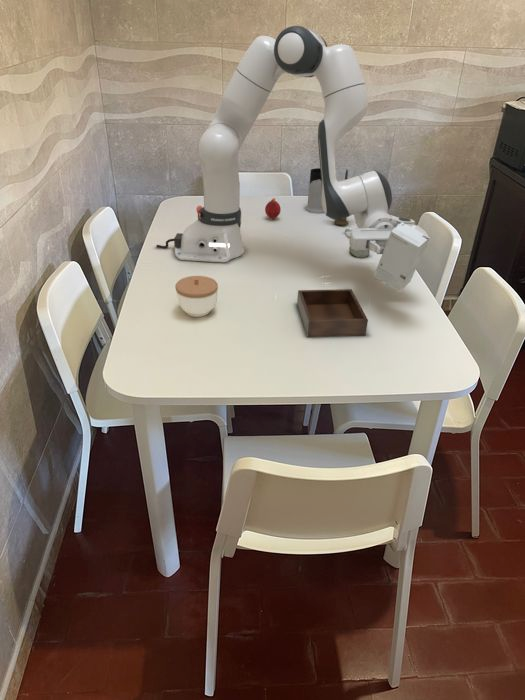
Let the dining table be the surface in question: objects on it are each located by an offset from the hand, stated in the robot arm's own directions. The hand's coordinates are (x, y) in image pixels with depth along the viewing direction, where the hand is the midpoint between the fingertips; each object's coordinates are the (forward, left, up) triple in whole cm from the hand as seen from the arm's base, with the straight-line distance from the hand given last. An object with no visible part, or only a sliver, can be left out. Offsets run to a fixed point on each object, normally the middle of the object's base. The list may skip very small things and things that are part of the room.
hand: (397, 251), depth 132 cm
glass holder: (-2, +87, -17) cm, 89 cm away
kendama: (+3, +67, -17) cm, 69 cm away
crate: (-16, -3, -17) cm, 24 cm away
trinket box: (-50, +3, -17) cm, 53 cm away
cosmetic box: (0, +1, -8) cm, 8 cm away
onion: (-22, +73, -17) cm, 78 cm away
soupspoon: (+3, +47, -17) cm, 50 cm away
